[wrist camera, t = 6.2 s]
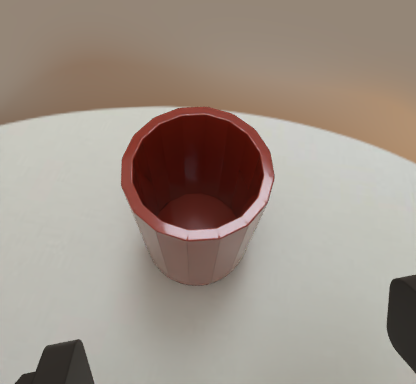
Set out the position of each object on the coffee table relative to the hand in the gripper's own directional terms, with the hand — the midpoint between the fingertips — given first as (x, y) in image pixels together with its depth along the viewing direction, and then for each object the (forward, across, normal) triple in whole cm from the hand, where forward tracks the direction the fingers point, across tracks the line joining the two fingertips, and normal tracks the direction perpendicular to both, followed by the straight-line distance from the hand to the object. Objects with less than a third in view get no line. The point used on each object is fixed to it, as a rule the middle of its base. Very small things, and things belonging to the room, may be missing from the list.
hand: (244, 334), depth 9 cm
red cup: (+12, 0, +3) cm, 13 cm away
